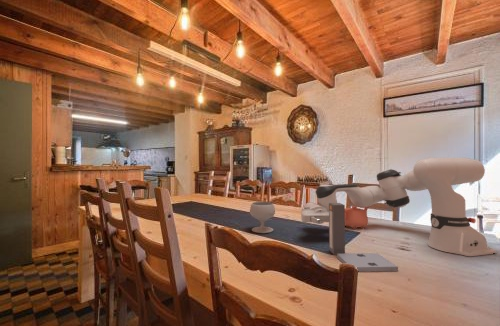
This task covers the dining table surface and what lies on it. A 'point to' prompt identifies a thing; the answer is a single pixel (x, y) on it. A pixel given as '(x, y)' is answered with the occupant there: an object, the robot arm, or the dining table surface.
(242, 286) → the dining table surface
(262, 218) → the chalice
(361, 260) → the mounting plate
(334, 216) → the tall taupe pillar
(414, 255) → the dining table surface
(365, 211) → the teapot
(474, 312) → the dining table surface
